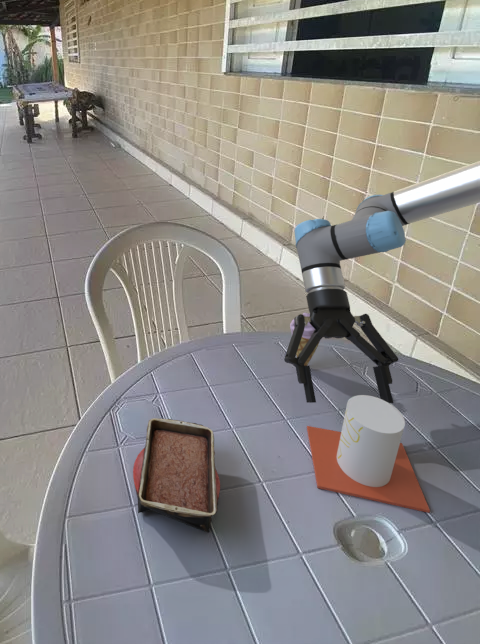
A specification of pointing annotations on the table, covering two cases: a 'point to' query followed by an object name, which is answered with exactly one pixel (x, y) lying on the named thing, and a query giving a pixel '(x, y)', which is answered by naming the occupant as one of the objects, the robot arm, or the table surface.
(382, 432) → the cup
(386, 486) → the mat
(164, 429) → the baking dish
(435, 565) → the table surface
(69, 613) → the table surface
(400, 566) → the table surface
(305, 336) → the ice cream cone
